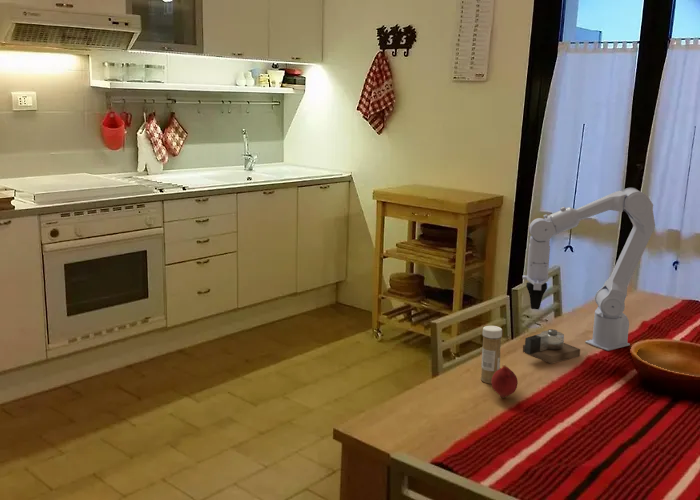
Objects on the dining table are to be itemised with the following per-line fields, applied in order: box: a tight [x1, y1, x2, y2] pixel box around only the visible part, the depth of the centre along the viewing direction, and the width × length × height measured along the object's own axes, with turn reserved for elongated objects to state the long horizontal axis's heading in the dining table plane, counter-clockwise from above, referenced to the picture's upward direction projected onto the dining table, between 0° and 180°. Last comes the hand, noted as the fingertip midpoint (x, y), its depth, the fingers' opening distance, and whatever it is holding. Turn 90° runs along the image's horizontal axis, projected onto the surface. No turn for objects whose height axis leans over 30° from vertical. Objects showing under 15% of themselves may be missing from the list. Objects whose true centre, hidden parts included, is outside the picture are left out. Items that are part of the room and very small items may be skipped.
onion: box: [490, 363, 518, 399], centre depth 158 cm, size 6×6×8 cm
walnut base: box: [522, 342, 581, 365], centre depth 187 cm, size 11×10×2 cm
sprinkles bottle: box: [480, 325, 503, 385], centre depth 167 cm, size 5×5×13 cm
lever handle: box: [524, 328, 565, 355], centre depth 184 cm, size 13×6×4 cm, turn 126°
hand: (535, 308), depth 196 cm, fingers closed
